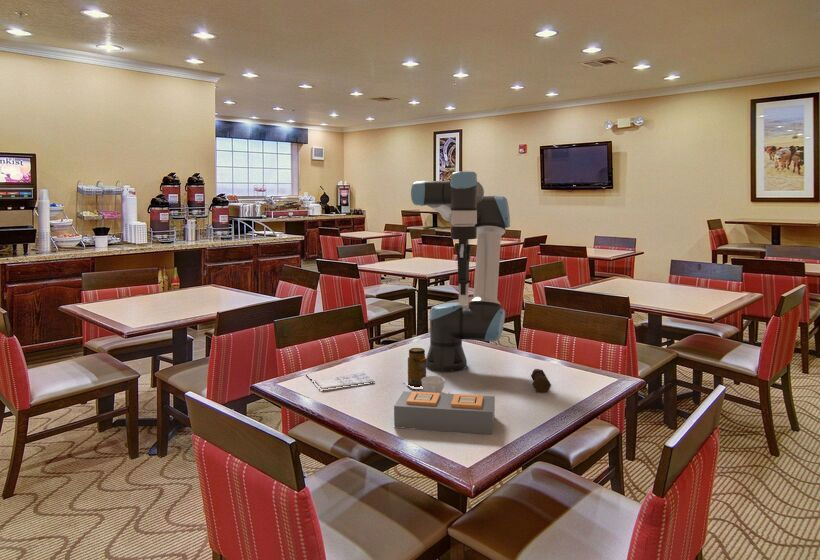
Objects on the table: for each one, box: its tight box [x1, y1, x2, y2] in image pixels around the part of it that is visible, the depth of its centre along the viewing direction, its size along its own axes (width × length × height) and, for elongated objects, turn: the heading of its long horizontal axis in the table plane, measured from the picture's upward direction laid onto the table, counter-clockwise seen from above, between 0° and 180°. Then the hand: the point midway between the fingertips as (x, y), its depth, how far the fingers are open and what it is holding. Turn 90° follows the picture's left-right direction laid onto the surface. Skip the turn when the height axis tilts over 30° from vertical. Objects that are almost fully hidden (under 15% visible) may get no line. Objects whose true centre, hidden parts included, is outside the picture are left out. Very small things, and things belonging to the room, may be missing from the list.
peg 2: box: [459, 397, 476, 403], centre depth 150 cm, size 4×4×7 cm
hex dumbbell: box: [530, 368, 552, 394], centre depth 181 cm, size 6×5×15 cm
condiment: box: [407, 347, 427, 391], centre depth 182 cm, size 7×8×12 cm
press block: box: [393, 390, 496, 435], centre depth 151 cm, size 12×26×7 cm, turn 79°
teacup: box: [417, 375, 450, 394], centre depth 174 cm, size 10×10×5 cm
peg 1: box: [415, 394, 432, 400], centre depth 152 cm, size 4×4×7 cm
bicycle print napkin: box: [314, 371, 376, 389], centre depth 190 cm, size 19×20×2 cm
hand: (463, 305), depth 164 cm, fingers closed
